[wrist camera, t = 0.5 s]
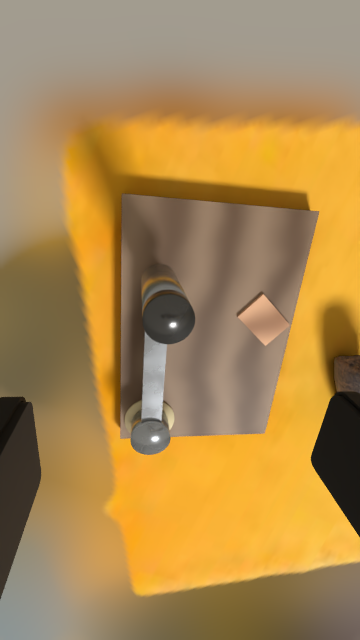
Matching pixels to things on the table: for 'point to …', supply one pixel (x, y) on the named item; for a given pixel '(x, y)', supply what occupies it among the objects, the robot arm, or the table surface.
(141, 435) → the press lever
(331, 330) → the table surface
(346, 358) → the perforated stone tool
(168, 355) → the board
